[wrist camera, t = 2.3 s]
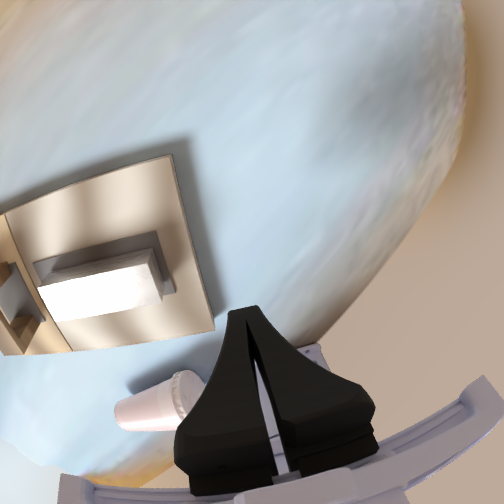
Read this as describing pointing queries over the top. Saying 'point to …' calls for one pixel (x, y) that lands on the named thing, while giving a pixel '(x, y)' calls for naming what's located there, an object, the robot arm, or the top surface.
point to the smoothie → (160, 404)
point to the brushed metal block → (104, 286)
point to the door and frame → (96, 248)
